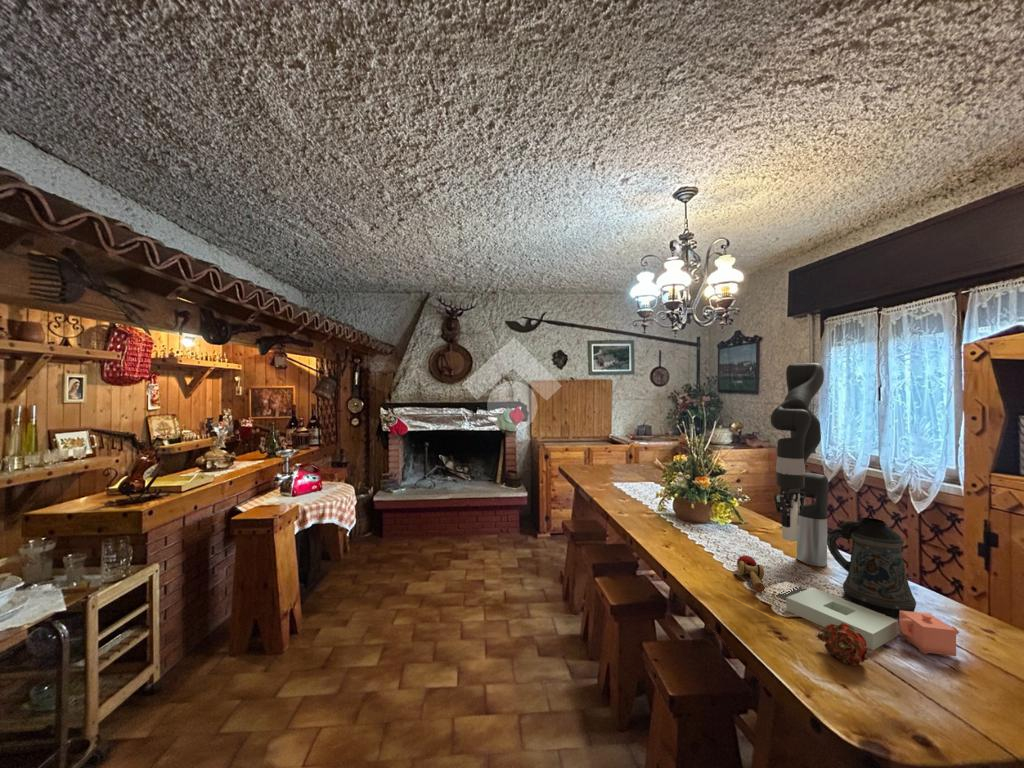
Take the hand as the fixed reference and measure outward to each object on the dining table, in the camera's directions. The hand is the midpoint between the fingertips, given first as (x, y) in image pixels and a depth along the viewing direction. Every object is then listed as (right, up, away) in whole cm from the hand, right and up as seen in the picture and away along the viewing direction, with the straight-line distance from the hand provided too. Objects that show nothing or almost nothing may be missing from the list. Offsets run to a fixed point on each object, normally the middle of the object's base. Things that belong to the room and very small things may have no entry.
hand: (789, 525), depth 130 cm
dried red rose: (-9, -20, -32) cm, 39 cm away
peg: (0, -4, 0) cm, 4 cm away
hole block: (+2, -21, -17) cm, 27 cm away
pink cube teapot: (+15, -21, -28) cm, 39 cm away
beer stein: (+21, -22, -6) cm, 31 cm away
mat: (0, -21, 0) cm, 21 cm away
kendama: (-8, -21, +7) cm, 23 cm away
